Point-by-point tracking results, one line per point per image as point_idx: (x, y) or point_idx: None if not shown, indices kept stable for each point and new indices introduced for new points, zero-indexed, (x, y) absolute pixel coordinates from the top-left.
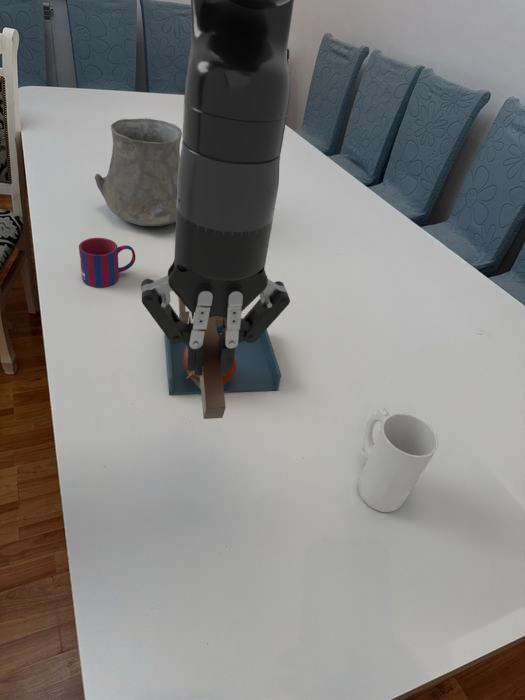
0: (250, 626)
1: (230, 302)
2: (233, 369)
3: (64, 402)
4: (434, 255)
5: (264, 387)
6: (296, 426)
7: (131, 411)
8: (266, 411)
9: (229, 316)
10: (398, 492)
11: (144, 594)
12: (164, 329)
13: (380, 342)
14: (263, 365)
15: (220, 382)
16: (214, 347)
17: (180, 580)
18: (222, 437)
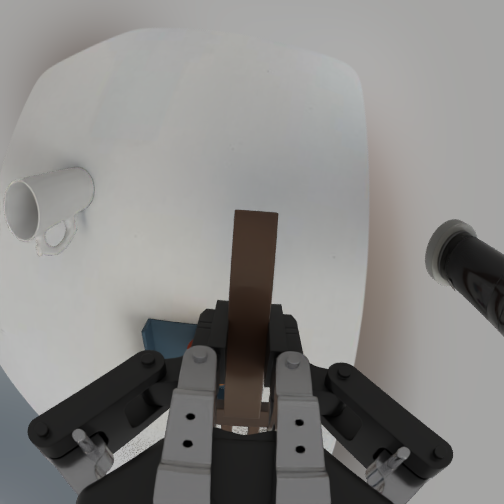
0: (227, 76)
1: (202, 487)
2: (190, 346)
3: (354, 328)
4: (33, 401)
5: (161, 324)
6: (135, 274)
7: (299, 315)
8: (162, 297)
9: (205, 433)
10: (58, 170)
11: (316, 121)
12: (378, 393)
13: (59, 346)
14: (159, 348)
15: (236, 272)
16: (235, 357)
17: (283, 125)
18: (213, 273)
